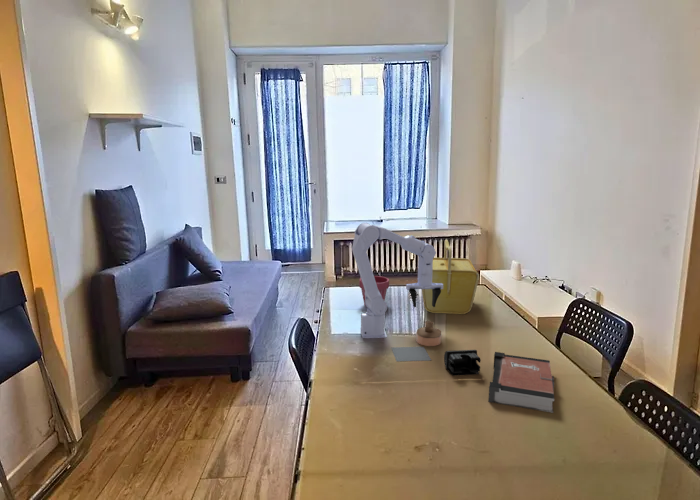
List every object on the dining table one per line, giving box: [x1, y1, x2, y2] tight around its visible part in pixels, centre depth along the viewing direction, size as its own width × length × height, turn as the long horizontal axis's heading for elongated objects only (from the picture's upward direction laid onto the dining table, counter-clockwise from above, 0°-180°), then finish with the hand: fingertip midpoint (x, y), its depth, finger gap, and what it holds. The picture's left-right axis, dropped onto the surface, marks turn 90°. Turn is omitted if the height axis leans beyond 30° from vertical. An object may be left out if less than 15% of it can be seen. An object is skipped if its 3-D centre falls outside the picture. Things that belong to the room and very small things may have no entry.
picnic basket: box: [421, 239, 480, 315], centre depth 215 cm, size 29×26×30 cm
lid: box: [416, 320, 442, 338], centre depth 171 cm, size 9×9×4 cm
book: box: [488, 351, 555, 414], centre depth 137 cm, size 26×18×5 cm
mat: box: [390, 346, 432, 362], centre depth 160 cm, size 12×12×1 cm
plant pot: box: [358, 275, 390, 308], centre depth 217 cm, size 14×14×13 cm
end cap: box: [443, 349, 481, 377], centre depth 147 cm, size 10×7×7 cm
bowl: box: [415, 331, 442, 347], centre depth 172 cm, size 9×9×4 cm
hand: (424, 306), depth 183 cm, fingers open, 7 cm apart
